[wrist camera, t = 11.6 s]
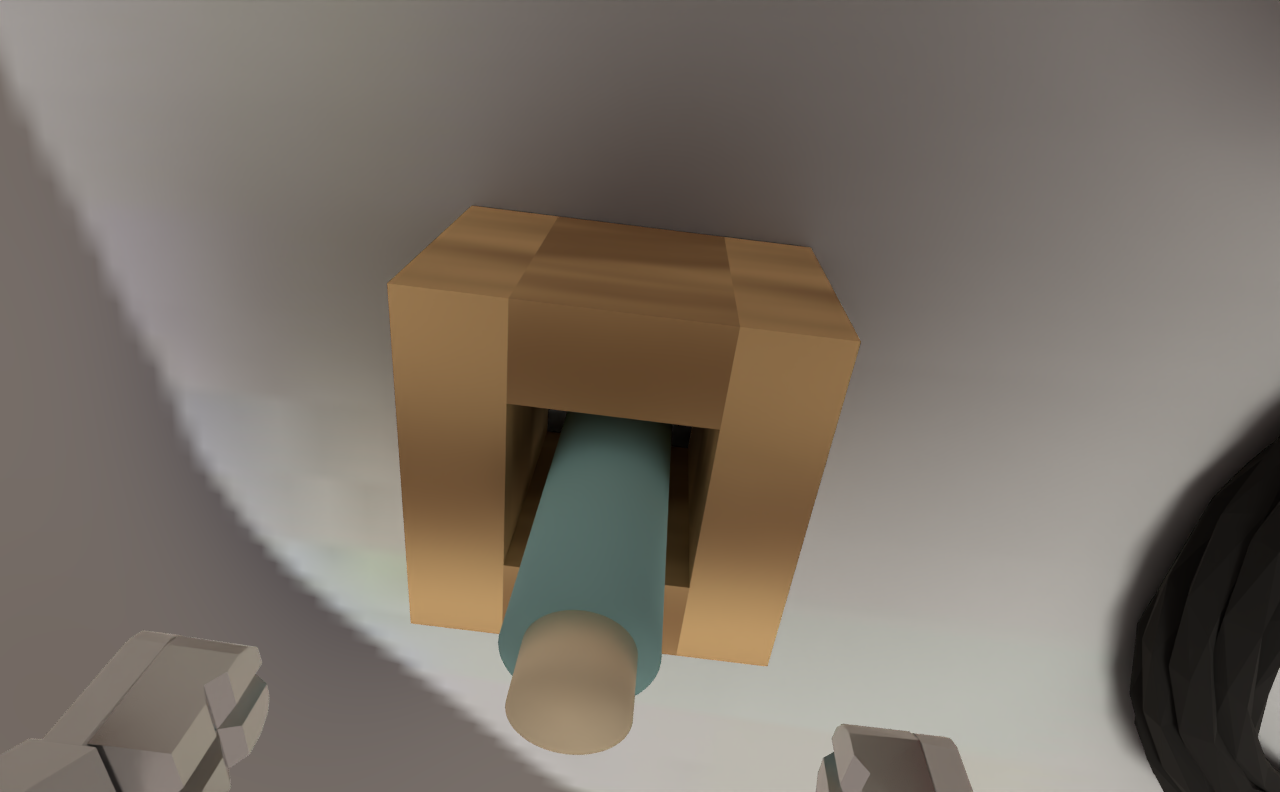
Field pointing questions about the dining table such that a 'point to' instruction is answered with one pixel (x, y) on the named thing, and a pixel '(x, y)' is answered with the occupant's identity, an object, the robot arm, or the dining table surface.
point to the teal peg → (590, 587)
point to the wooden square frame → (615, 407)
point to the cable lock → (1215, 643)
